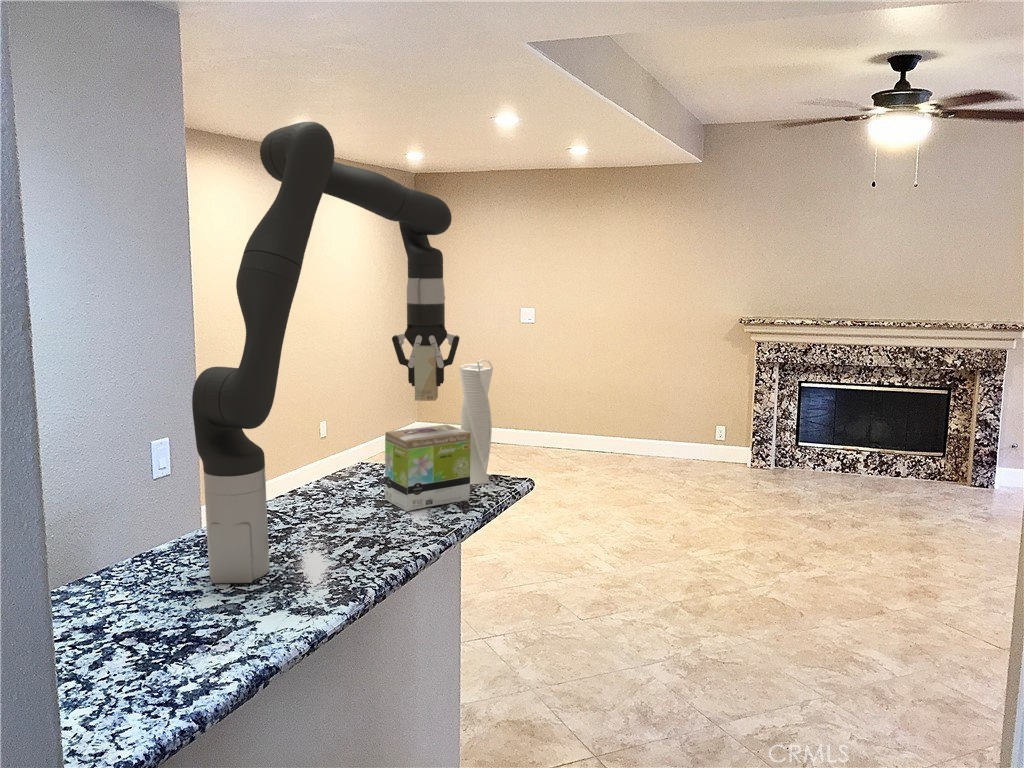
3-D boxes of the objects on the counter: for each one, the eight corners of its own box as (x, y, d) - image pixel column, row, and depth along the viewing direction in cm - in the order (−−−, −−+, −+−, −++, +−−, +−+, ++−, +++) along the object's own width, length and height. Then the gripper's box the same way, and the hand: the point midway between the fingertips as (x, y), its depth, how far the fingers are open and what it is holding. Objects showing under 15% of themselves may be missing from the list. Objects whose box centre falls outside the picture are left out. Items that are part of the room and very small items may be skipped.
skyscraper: (496, 485, 183) (496, 359, 179) (463, 487, 182) (462, 360, 177) (489, 475, 191) (489, 354, 186) (457, 477, 189) (456, 355, 185)
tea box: (408, 513, 164) (407, 440, 161) (384, 500, 172) (382, 431, 169) (471, 500, 173) (471, 430, 170) (446, 488, 181) (445, 422, 178)
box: (435, 401, 166) (435, 346, 164) (414, 401, 166) (413, 346, 164) (438, 396, 171) (438, 343, 169) (417, 396, 171) (417, 343, 169)
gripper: (387, 302, 161) (389, 388, 164) (461, 302, 162) (461, 389, 165) (391, 299, 169) (392, 382, 172) (461, 300, 169) (462, 382, 172)
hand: (426, 385), depth 168 cm, fingers closed on box, 4 cm apart
